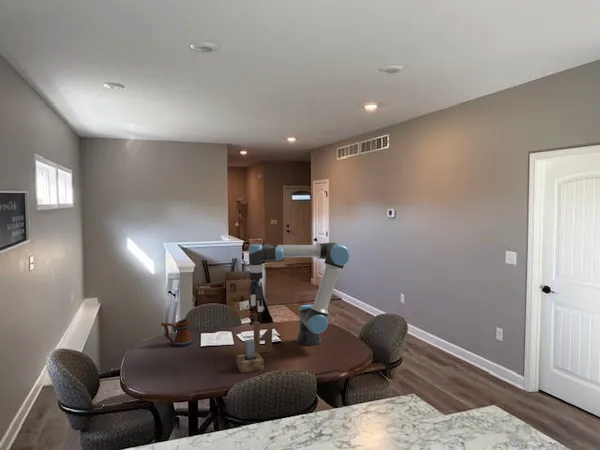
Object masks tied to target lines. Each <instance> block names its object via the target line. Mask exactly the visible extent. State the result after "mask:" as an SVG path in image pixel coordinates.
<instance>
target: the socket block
mask: <svg viewBox="0 0 600 450" xmlns="http://www.w3.org/2000/svg"><path fill="white" fill-rule="evenodd" d="M236 366H237V368H238V369H239V371H240V373H241V374H242V373H248V372H256V371H264V370H265V360H264V358H263V357H262V355H261V353H255V359H253V360H245V353H242V354H236Z"/></svg>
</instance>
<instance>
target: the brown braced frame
mask: <svg viewBox="0 0 600 450" xmlns="http://www.w3.org/2000/svg"><path fill="white" fill-rule="evenodd" d="M253 340H254V342H255V353H259V354H264V353H272V352H273V328H272V327H271V326H269V327H268V328H267V329H266V331H264V333H263V334H262V335H261V323H260V321H254V322H253ZM261 342H264V344H261Z"/></svg>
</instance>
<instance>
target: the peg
mask: <svg viewBox="0 0 600 450" xmlns="http://www.w3.org/2000/svg"><path fill="white" fill-rule="evenodd" d="M244 347H245V353H244V354H245V360H253V359H255V342H254V339H247V340H246V339H245V346H244Z"/></svg>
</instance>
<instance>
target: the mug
mask: <svg viewBox="0 0 600 450" xmlns="http://www.w3.org/2000/svg"><path fill="white" fill-rule="evenodd" d="M190 322H191V319H190V318H182V319H180V320H177V321H176V322H175V323H174V324H173V323H168V322H163V321H162V322H161V324H160V326H161V327H164V330H165V338H166V339H168V340H169V342H167V343H166V344H167V345H168V346H172V345H173V346H174V347H177V348H178V347H179V348H180V347H181V348H182V347H188V346H190V345H191V344H192V343H193V340H192V338H191V335H190V331H189V329H190V328H189V326H190ZM169 326H170V327H172V328H171V329H172V331H173V333H176V335H175V337H174V339H173V338H172V337H171V336H170V335H169V334H170V333H169V328H168V327H169Z"/></svg>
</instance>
